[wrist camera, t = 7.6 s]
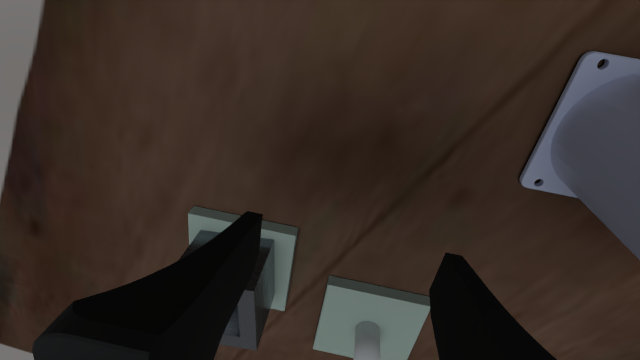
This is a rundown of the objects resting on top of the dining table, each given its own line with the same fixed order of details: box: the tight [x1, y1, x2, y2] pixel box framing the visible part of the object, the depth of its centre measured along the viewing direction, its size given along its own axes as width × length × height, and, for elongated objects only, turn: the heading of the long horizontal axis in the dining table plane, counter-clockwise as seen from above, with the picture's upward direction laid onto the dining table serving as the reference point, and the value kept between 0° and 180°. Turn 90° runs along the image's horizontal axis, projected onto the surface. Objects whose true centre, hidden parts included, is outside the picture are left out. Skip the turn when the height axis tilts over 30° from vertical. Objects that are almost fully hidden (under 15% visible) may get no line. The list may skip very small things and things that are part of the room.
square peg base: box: [188, 206, 298, 311], centre depth 26 cm, size 8×8×4 cm
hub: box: [178, 230, 275, 350], centre depth 25 cm, size 6×6×5 cm
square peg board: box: [313, 275, 430, 360], centre depth 27 cm, size 8×8×4 cm
